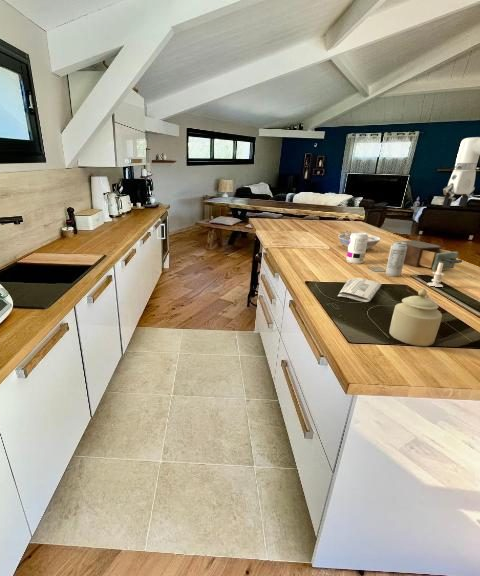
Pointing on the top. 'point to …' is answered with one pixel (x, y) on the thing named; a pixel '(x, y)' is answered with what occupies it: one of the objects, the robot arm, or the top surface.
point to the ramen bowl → (370, 243)
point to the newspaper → (360, 289)
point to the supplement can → (357, 247)
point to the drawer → (438, 258)
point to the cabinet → (416, 251)
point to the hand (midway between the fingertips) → (454, 206)
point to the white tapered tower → (437, 276)
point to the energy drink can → (396, 259)
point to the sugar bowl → (416, 320)
